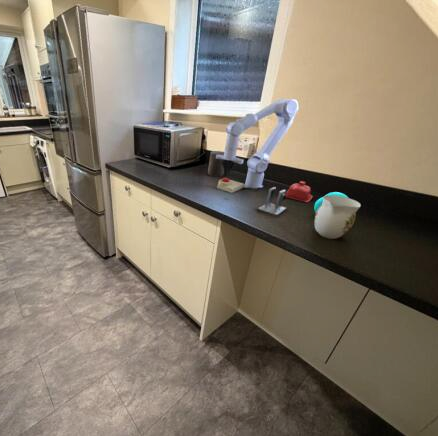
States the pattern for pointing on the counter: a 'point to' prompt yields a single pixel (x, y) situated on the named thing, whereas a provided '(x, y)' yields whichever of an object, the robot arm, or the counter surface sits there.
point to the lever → (275, 193)
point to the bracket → (273, 208)
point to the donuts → (320, 201)
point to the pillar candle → (215, 165)
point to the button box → (230, 185)
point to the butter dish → (299, 192)
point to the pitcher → (335, 216)
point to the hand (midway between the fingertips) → (226, 174)
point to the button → (225, 179)
